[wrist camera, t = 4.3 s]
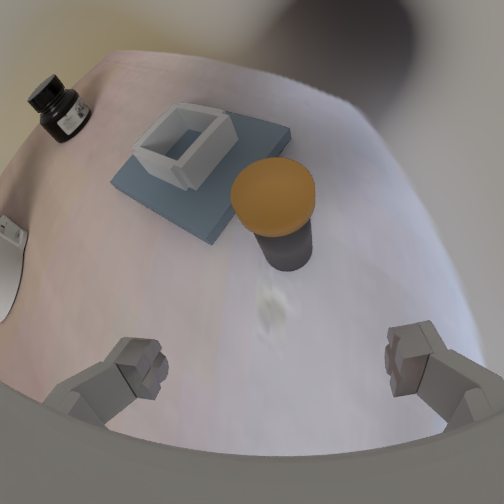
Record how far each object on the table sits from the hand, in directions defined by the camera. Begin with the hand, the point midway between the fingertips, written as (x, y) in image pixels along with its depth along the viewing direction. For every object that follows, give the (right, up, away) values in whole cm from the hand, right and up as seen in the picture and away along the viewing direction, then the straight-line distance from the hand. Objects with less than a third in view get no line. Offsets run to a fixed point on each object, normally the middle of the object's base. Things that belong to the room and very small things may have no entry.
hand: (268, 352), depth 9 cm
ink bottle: (-35, +27, +33) cm, 55 cm away
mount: (-7, +13, +20) cm, 25 cm away
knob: (+2, +4, +14) cm, 15 cm away
